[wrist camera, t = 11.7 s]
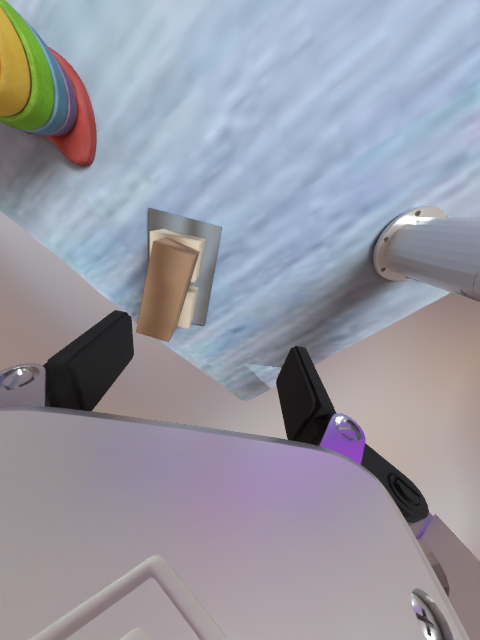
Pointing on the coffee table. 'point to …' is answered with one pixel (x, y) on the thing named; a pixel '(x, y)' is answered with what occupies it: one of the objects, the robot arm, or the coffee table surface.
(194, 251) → the lintel
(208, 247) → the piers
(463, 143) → the coffee table surface
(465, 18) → the coffee table surface
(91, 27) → the coffee table surface
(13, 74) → the stacking bear
